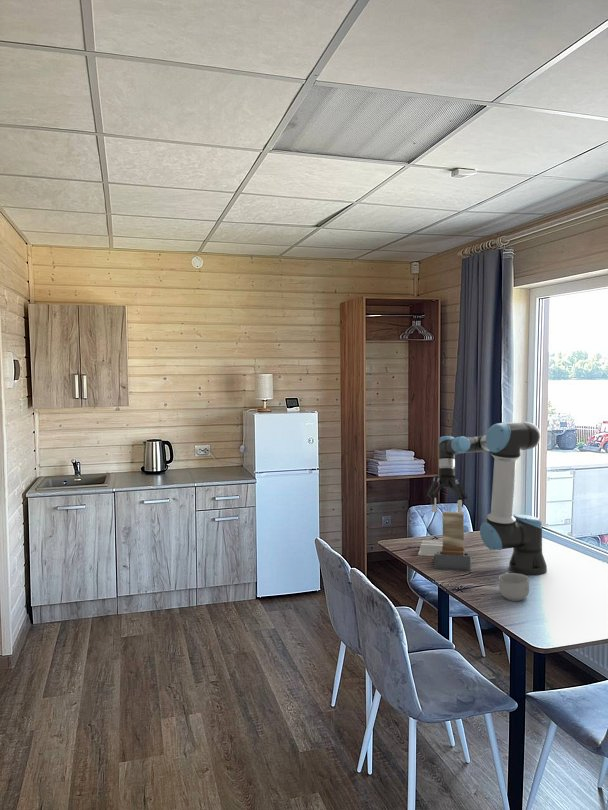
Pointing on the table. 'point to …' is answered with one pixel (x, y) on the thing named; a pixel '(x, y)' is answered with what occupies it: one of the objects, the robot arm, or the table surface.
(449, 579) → the table surface
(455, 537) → the birch sheet
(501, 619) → the table surface
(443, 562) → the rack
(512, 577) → the teacup
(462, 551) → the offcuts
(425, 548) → the stand
